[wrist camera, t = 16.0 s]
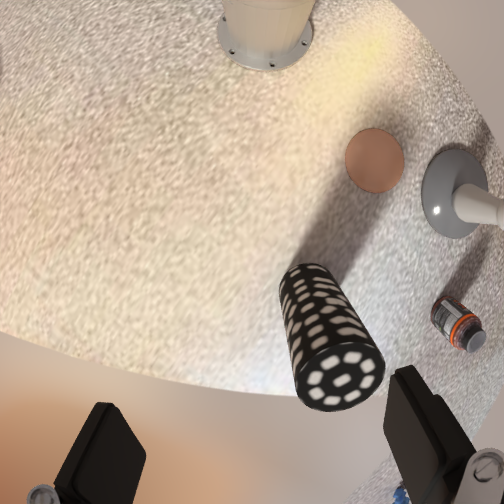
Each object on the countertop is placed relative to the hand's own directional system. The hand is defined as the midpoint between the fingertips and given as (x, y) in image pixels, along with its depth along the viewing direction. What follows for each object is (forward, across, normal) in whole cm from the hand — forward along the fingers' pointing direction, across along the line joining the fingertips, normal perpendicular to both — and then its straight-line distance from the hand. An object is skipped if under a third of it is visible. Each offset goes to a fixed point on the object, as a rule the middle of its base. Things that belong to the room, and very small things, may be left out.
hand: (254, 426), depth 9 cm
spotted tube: (+34, -6, +11) cm, 36 cm away
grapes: (+34, -30, +88) cm, 99 cm away
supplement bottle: (+34, -30, +20) cm, 49 cm away
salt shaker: (+32, -32, +1) cm, 46 cm away
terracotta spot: (+33, -18, -6) cm, 38 cm away
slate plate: (+33, -32, 0) cm, 46 cm away
